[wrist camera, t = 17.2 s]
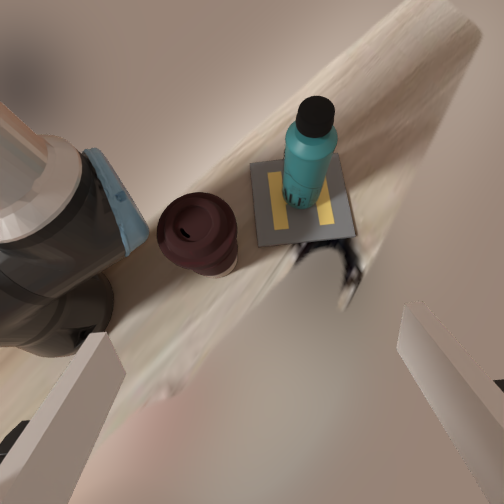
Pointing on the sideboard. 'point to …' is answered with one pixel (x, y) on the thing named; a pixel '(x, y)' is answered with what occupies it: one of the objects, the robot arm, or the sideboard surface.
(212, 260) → the coffee cup
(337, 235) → the letter board
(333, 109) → the beverage bottle
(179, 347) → the sideboard surface
